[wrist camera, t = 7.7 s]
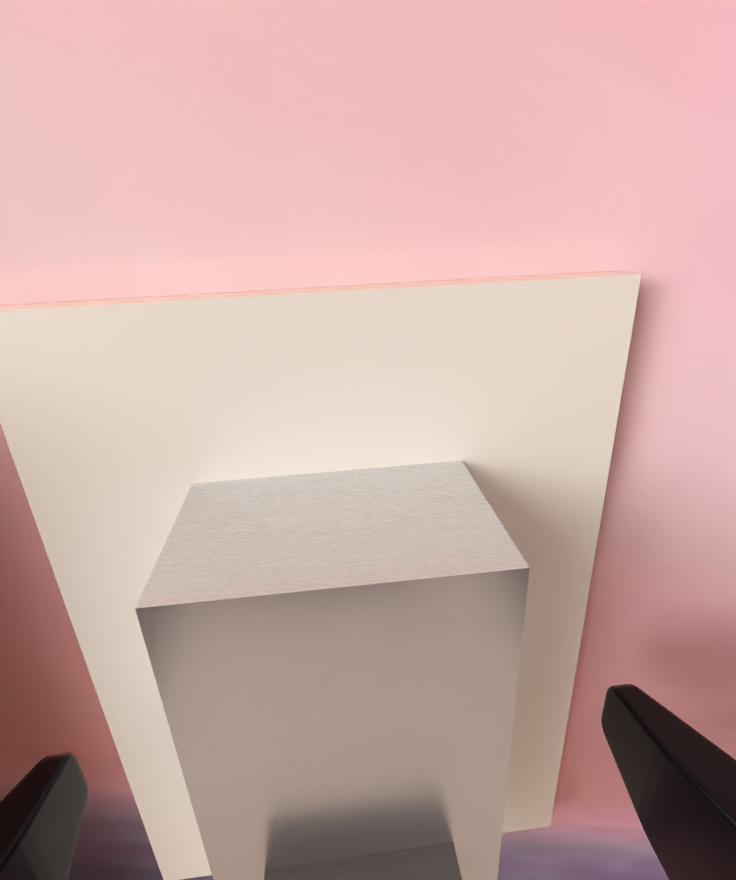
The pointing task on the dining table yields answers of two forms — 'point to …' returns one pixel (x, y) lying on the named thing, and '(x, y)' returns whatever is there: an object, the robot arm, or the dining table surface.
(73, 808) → the robot arm
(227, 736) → the lever cap
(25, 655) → the dining table surface
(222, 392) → the board
